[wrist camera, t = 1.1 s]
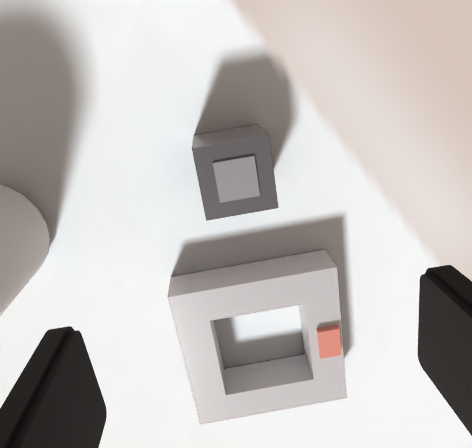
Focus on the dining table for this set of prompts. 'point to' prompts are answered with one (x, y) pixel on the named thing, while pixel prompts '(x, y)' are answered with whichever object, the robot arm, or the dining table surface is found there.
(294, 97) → the dining table surface
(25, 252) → the can
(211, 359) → the socket plate
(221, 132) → the plug
